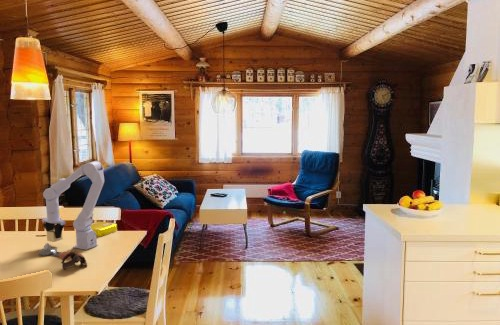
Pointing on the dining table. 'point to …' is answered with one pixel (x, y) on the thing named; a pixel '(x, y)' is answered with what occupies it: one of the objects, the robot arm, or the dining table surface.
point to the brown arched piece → (73, 259)
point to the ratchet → (51, 252)
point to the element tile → (103, 228)
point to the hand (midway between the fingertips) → (54, 237)
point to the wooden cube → (52, 236)
